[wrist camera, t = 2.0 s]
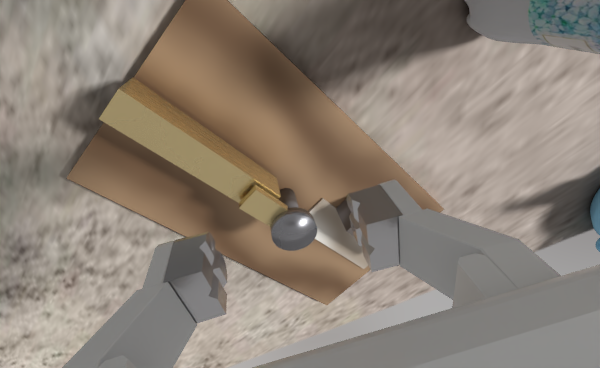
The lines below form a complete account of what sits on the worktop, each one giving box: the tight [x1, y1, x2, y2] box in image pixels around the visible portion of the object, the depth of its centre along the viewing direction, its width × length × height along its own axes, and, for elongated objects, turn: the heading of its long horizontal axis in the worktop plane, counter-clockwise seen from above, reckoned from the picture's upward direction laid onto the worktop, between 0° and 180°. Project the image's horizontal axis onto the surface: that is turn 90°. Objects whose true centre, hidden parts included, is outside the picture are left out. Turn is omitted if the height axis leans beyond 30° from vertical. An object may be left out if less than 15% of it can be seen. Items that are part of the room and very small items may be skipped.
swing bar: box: [99, 78, 317, 251], centre depth 23 cm, size 17×4×5 cm, turn 47°
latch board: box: [67, 0, 444, 305], centre depth 27 cm, size 18×30×5 cm, turn 47°
